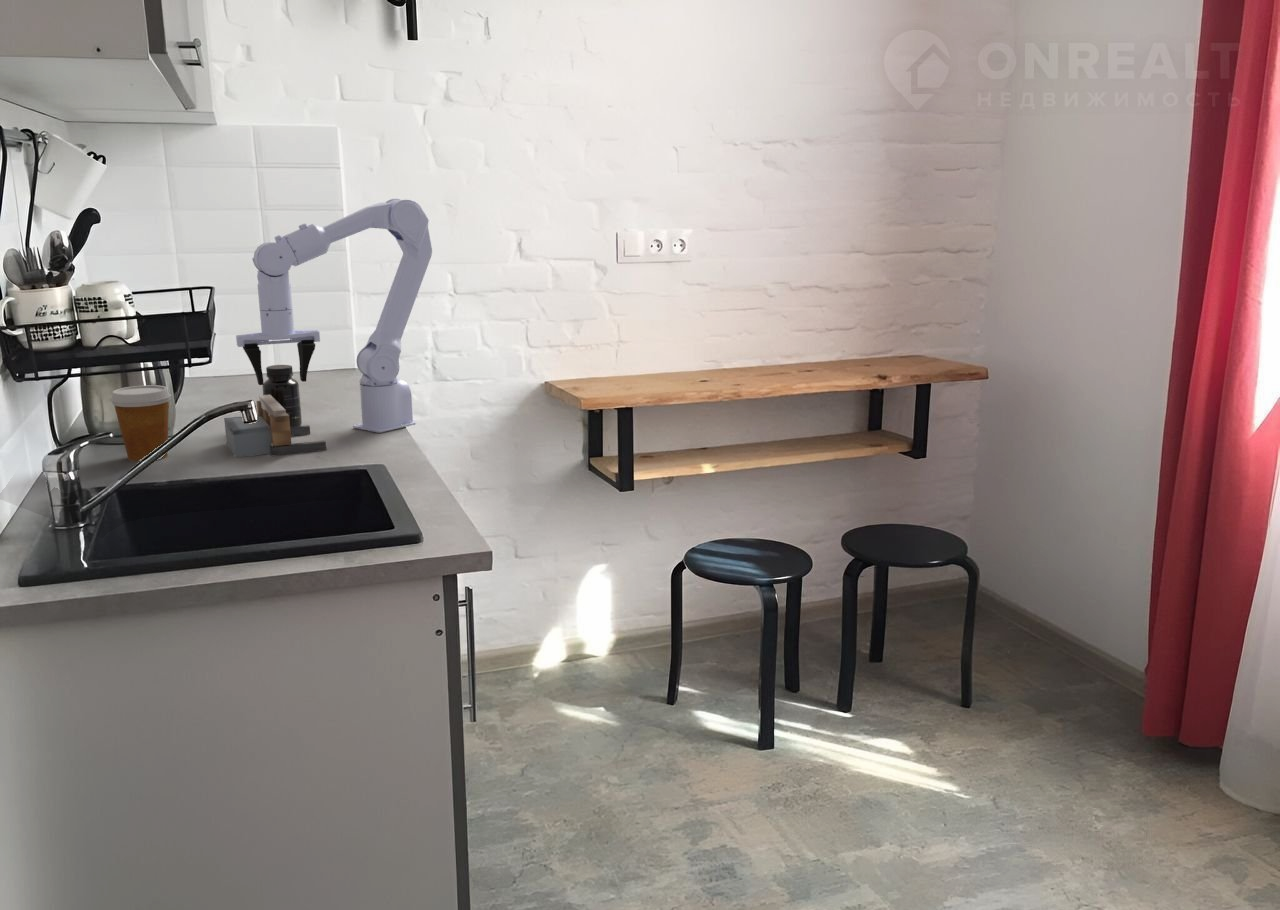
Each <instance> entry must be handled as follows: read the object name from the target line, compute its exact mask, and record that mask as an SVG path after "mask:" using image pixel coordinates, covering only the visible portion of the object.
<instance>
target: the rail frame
mask: <svg viewBox="0 0 1280 910" xmlns="http://www.w3.org/2000/svg"><path fill="white" fill-rule="evenodd" d="M290 432H291V437H294V436H295V437H296V436H305V435H311V426H310V424H308V425H307V424H306V425H301V426H295V427H290ZM326 450H327V441H326V440H318V441H317V440H315V441H306V442H305V441H304V442H297V443H291V444H288V445H279V446H273V445H272V446H270V454H269V455H270V457H274V456H282V455H291V454H292V455H293V454H300V453H311V452H317V451H318V452H319V451H326Z"/></svg>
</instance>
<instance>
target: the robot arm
mask: <svg viewBox="0 0 1280 910" xmlns="http://www.w3.org/2000/svg"><path fill="white" fill-rule="evenodd" d="M298 228H299V229H297V230H295V231H292V232H290V233H288V234H285V235H283V236H281V235H280V234H278V235H276V236H274V240H275V242H273V241H272V242H270V241H269V242H268V241H267V242H262V243H261V244H259V245H258V246H257V248H256V249H255V250H254V252H253V258H252V262H253V265H254V267H255V268H256V269H257V273H256V274H257V275H256V276H257V281H258V283H257V292H258V293H257V294H258V304H259V305H258V306H259V318H260V326H261V327H260V328H261V332H257V333H256V332H255V333H248V334H247V333H246V334H235V340H236V341H235V342H236V346H237V347H238V348H242V349H243V351H244V353H245V354H246V356H247V358H248V360H249V361H250V364H251V366H252V368H253V370H254V373H255V377H256V380H257V384H258V385H259V386H263V385H264V375H263V369H262V351H261V349H260V346H263V345H265V346H266V345H267V346H268V345H279V344H281V345H282V344H292V343H293V344H294V343H295V344H296V346H297V351H298V360H299V379H300V381H301V382H307V377H308V376H307V375H308V371H309V370H308V369H309V365H310V362H311V359H312V358H313V357H312V356H313V354H314V352H315V350H316V343H315V342H317V343H319V342H321V337H320V335H321V334H320V331H319V330H317V329H316V330H315V329H313V330H295V323H294V322H295V321H294V312H293V311H294V309H293V299H292V298H293V297H292V287H291V286H292V285H291V283H290V275H289V273H290V272H289V271H290V270H291V268H292V266H293V267H298V266H300V265H302V264H304V263H307V262H309V261H311V260H314V259H316V258H318V257H321V256H323V255H325V254H327V253H328V251H329V248H330V246H331V244H332V243H335V242H338V241H340V240H343V239H345V238H348V237H351V236H354V235H355V234H358V233H361V232H364V231H366V230H368V229H379V230H381V229H382V230H387V231H388V232H389V233H390V234H391V235H392V236H393V237H394V238H395V240H396V241H397V244H398V245H399V247H400V250H401V251H402V256H401V259H400V262H399V264H398V267H397V270H396V273H395V276H394V278H393V281H392V283H391V286H390V290H389V292H388V294H387V296H386V299H385V300H386V301H385V303H384V306H383V308H382V311H381V314H380V317H379V320H378V321H377V325H376V327H375V330H373V332H372V334H371V335H370V336H369V338H368V340H367V343H366V344H365V346H363V348H362V349H360V351H358V354H357V355H356V356H357V357H356V367H357V369H358V371H359V372H360V373H361V374H362V375H361V378H360V379H359V391H360V392H359V393H360V407H361V408H360V409H361V423H356V424H352V428H354V429H357V430H358V429H359V430H363V431H368V432H373V433H377V434H378V433H379V434H380V433H385V432H389V431H394V430H398V429H402V428H407V427H410V426H415V425H416V424H417V423H416V421H414V419H413V417H414V416H413V397H412V391H411V388H410V386H409V384H408V382H406V381H405V380H403V379H400V378H398V374H399V371H400V355H401V353H402V337H403V336H404V332H405V329H406V326H407V323H408V321H409V317H410V316H411V313H412V310H413V308H414V305H415V301H416V299H417V296H418V294H419V291H420V288H421V286H422V283H423V280H424V277H425V274H426V273H427V269H428V266H429V263H430V261H431V258H432V254H433V248H432V242H431V237H430V231H429V218H428V217H427V215H426V213H425V211H424V210H423V208H422V206H421V205H420V204H419V203H417V202H416V201H414V200H412V199H407V198H406V199H400V198H391V199H389V200H387V201H385V202H378V203H375V204H371V205H369V206H366V207H363V208H361V209H359V210H357V211H355V212H353V213H350V214H349V215H346V216H345V217H342V218H340V219H338V220H336V221H333V222H332V223H329V224H328V225H325V226H323V227H321V226H319V225H317V224H314V223H311V224H309V225H308V224H307V223H302V224H300V225H299V226H298ZM401 424H402V425H403V427H402V425H401Z"/></svg>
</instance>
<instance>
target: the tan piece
mask: <svg viewBox="0 0 1280 910" xmlns="http://www.w3.org/2000/svg"><path fill="white" fill-rule="evenodd" d="M258 398H259V399H258V400H257V401H256V409H257V415H260V416H261V417H262V418H263V419H264V420H265V422H266V423H267V424H268V425H269V426H270V430H271V442H272V446H279V445H288V444H292V436H291V432H290V420H289V415H288V414H287V413H286V410H285V409H284V408H283V407H282V406H281V405H280V404H279V403H278V402H277V401H276V400H275V399H274V398H273V397H272V396H271V395H263V394H259V395H258Z"/></svg>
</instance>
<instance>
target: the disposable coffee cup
mask: <svg viewBox="0 0 1280 910" xmlns="http://www.w3.org/2000/svg"><path fill="white" fill-rule="evenodd" d="M111 396H112V397H110V402H111V403H112V405H113V406H114V408H115V409H114V410H115V413H116V417H117V421H118V425H119V430H120V433H121V435H122V440H123V444H124V447H125V451H126V455H127V460H129V461H131V462H135V463H136V462H137V461H139V460H140V459H142V458H143V457H144V456H146V455H148V454H149V453H150V452H152V451H153V450H154V449H155V448H157V447H158V446H160V445H161V444H163V443H164V442H165V441H166V440H168V441H169V413H170V412H169V411H170V410H169V408H170V407H169V406H170V405H169V404H170V400H171V397H172V394H171V393H170V392H169V388H168V387H167V386H164V385H156V384H155V385H151V384H150V385H149V384H148V385H144V384H143V385H132V386H126V387H121V388H118V389H115V390H112V395H111ZM168 456H169V454H168V453H166V454H165V455H164V456H163V457H162V458H161V459H160V460H162V459H166V458H168Z"/></svg>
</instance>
